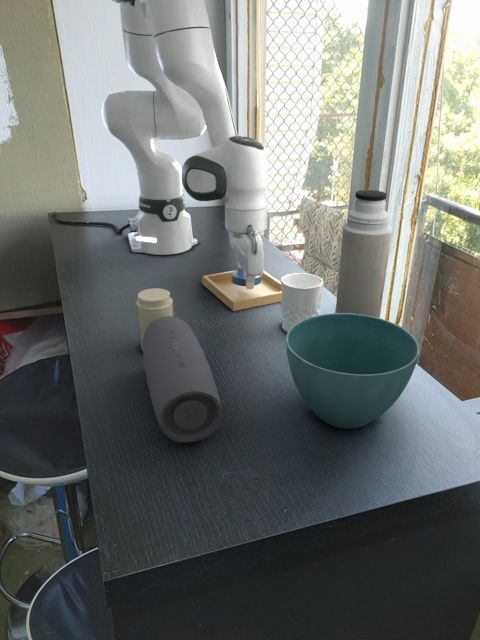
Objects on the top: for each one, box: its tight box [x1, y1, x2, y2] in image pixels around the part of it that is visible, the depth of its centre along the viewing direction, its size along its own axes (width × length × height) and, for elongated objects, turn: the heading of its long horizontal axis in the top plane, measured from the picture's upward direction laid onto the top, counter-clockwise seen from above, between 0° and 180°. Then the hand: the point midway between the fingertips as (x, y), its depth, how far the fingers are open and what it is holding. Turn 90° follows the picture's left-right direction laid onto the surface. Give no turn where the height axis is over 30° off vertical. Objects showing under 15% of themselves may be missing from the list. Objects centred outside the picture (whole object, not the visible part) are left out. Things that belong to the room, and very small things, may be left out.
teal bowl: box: [285, 312, 420, 430], centre depth 75 cm, size 18×18×12 cm
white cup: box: [280, 272, 324, 333], centre depth 100 cm, size 8×8×10 cm
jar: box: [135, 287, 175, 352], centre depth 92 cm, size 6×6×10 cm
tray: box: [201, 270, 281, 312], centre depth 118 cm, size 17×15×2 cm
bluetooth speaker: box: [142, 316, 223, 443], centre depth 77 cm, size 23×9×10 cm, turn 17°
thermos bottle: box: [334, 189, 393, 319], centre depth 90 cm, size 8×8×28 cm
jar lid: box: [231, 269, 261, 286], centre depth 116 cm, size 7×7×2 cm
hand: (245, 281), depth 117 cm, fingers closed on jar lid, 6 cm apart
